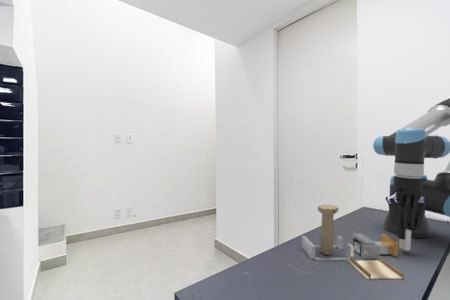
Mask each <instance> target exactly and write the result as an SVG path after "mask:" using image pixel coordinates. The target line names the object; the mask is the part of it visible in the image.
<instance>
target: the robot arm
mask: <svg viewBox="0 0 450 300" xmlns="http://www.w3.org/2000/svg"><path fill="white" fill-rule="evenodd" d="M449 125H450V97H449V98H447V99H445V100H442V101H440V102H439V103H436V104H435V105H433V106H431V107H429V109H428V110H427V112H426V113H424V114H423V115H422V116H420V117H418V118H417V119H415V120H413V121H412V122H410V123H408V124H406V125H405V126H403V127H401V128H399V129H397V130H396V131H395V132H393V133H391V134H390V135H382V136H377V137H376V138H375V139H374V141H373V142H372V143H373V145H372V146H373V149H374V152H375V153H376V154H377V155H382V156H386V157H388V156H389V157H390V156H391V157H394V169H393V174H394V175H393V176H391V177H390V180H389V181H390V182H389V186H388V187H389V196H385V201H386V203H387V204H388V210H387V213H386V215H385V218H384V220H383V229H384V230H386V231H388V232H390V233H392V234H395V235H397V237H398V238H399V241H398V244H399V246H398V247H399V248H400V249H402V250H404V251H406V252H407V251H408V252H409V251H411V244H412V242H411V241H412V240H413V238H414V239H426V238H430V236H431V229H430V227H429V223H428V221H427V218H426V217H427V216H426V211H427V212H430V213H434V214H438V215H443V216H446V217H449V218H450V160H449V162H448V164H447V166H446V168H445V169H444V171H441V172H440V171H439V172H438V173H437V174H436V176H435V177H434V178H435V179H433V180H432V179H428V176H427V175H424V174H425V159H439V158H444V157H446V156H448V155H449V154H450V140H449V139H448V138H446V137H444V136H439V135H437V134H436V135H431V134H432V133H434V132H435V131H437V130H438V129H440V128H441V127H446V126H449Z"/></svg>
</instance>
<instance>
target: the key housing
mask: <svg viewBox="0 0 450 300" xmlns="http://www.w3.org/2000/svg"><path fill="white" fill-rule="evenodd" d="M354 242H361V243H363V244H362V245H361V254H360V257H361V258H362V259H364V260H365V259H366V260H367V259H368V260H371V259H373V260H374V259H375V260H378V257H381V254H380V245H378V244H376V243H375V242H376V241H374V240H373V239H370V238H369V237H367V236H365V234H363V233H352V236H350V244H351V245H353V246H354Z"/></svg>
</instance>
